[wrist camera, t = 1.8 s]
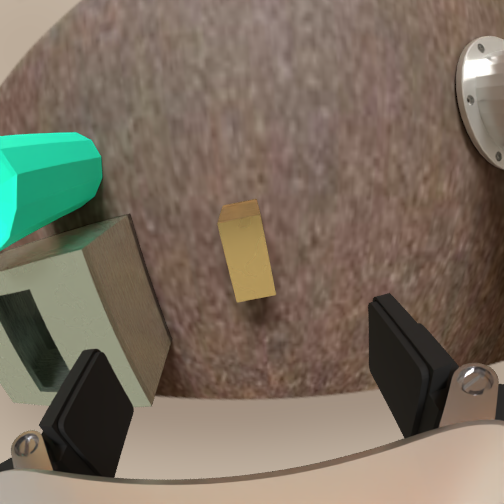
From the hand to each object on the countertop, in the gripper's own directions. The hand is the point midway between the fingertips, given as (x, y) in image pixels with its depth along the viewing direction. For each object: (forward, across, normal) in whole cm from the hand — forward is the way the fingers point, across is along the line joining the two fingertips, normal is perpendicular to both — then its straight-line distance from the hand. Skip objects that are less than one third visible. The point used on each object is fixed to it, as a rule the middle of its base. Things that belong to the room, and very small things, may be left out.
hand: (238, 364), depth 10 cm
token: (+14, -1, 0) cm, 14 cm away
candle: (+14, +11, -8) cm, 20 cm away
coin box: (+14, +14, +2) cm, 20 cm away
